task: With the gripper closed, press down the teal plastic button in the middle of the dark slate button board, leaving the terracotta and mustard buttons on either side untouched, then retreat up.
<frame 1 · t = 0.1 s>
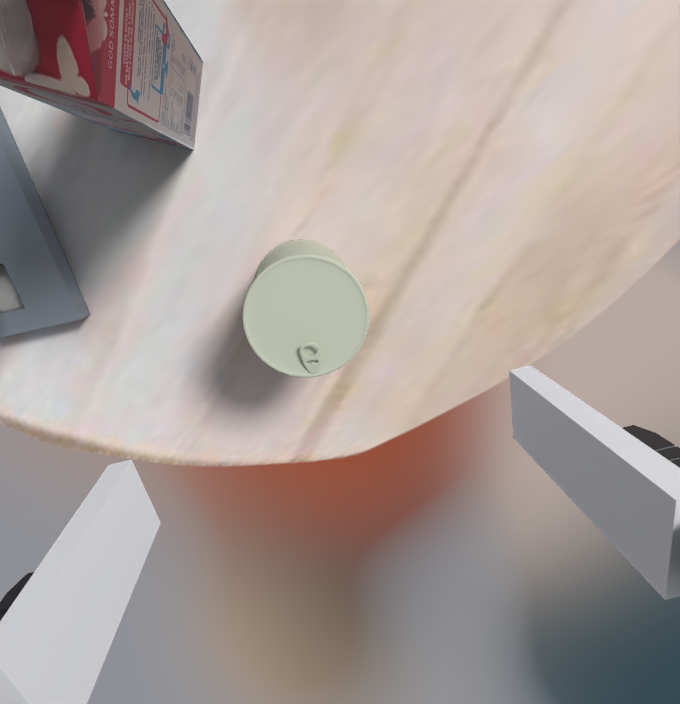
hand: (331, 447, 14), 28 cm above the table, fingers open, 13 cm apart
can: (302, 287, 41), on the table
juice carton: (156, 96, 34), on the table
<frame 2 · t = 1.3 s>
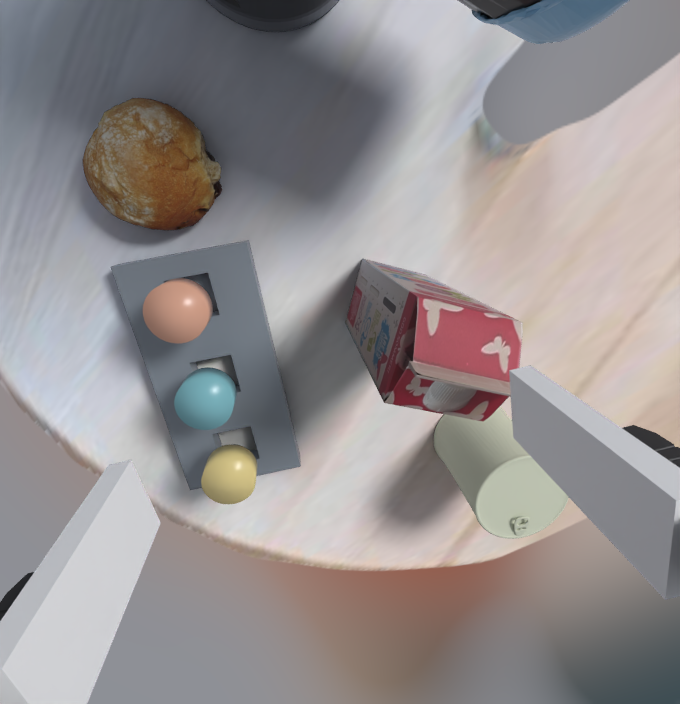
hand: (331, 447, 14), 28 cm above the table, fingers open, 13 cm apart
bread roll: (163, 171, 36), on the table
teal button: (208, 393, 37), point 6 cm above the table, slide at 0.0 cm
mustard button: (231, 467, 40), point 6 cm above the table, slide at 0.0 cm
terracotta button: (182, 307, 34), point 6 cm above the table, slide at 0.0 cm
can: (470, 433, 49), on the table
juice carton: (384, 298, 42), on the table
button board: (219, 370, 43), on the table
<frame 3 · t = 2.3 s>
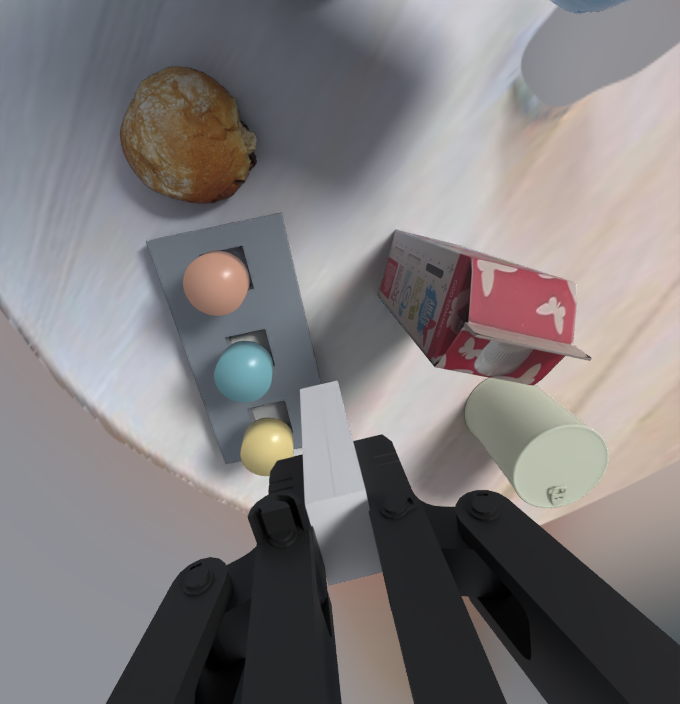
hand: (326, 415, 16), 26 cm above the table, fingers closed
bread roll: (197, 143, 36), on the table
teal button: (246, 366, 37), point 6 cm above the table, slide at 0.0 cm
mustard button: (268, 440, 40), point 6 cm above the table, slide at 0.0 cm
terracotta button: (219, 280, 34), point 6 cm above the table, slide at 0.0 cm
can: (501, 407, 49), on the table
juice carton: (417, 270, 42), on the table
button board: (252, 345, 43), on the table
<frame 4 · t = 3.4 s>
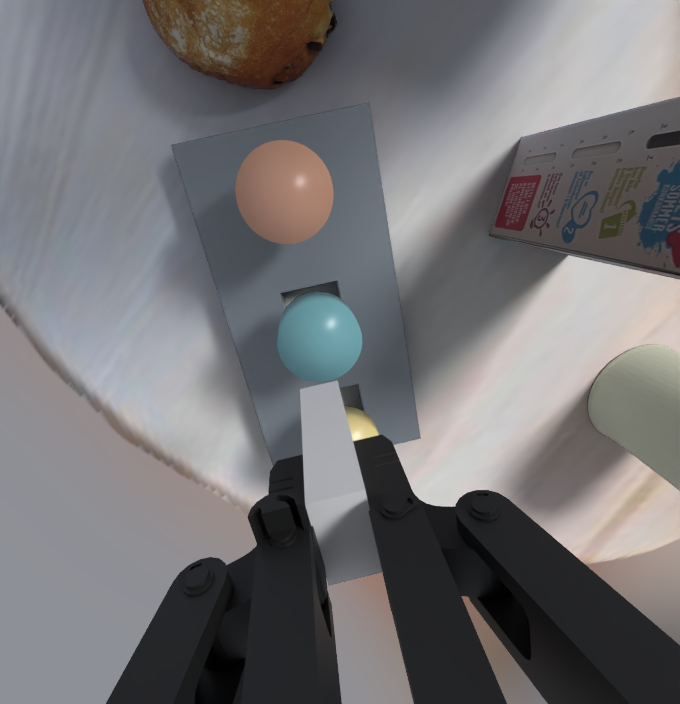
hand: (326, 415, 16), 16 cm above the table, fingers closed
teal button: (318, 330, 25), point 6 cm above the table, slide at 0.0 cm
mustard button: (343, 439, 28), point 6 cm above the table, slide at 0.0 cm
terracotta button: (286, 194, 23), point 6 cm above the table, slide at 0.0 cm
can: (635, 392, 37), on the table
juice carton: (544, 199, 30), on the table
button board: (314, 307, 31), on the table
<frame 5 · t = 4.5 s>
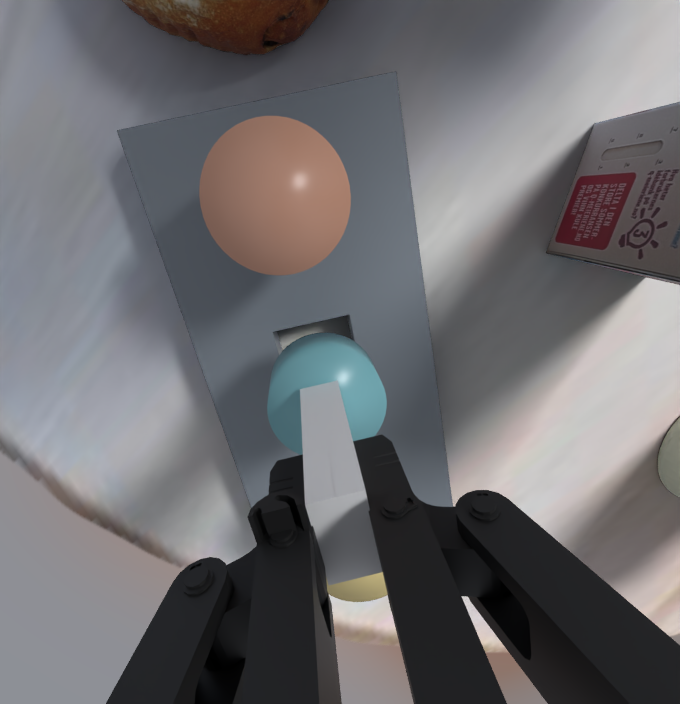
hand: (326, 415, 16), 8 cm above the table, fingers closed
teal button: (323, 384, 19), point 5 cm above the table, slide at 0.5 cm, touching gripper
mustard button: (358, 527, 21), point 6 cm above the table, slide at 0.0 cm
terracotta button: (278, 200, 15), point 6 cm above the table, slide at 0.0 cm
juice carton: (619, 205, 23), on the table
button board: (317, 346, 24), on the table
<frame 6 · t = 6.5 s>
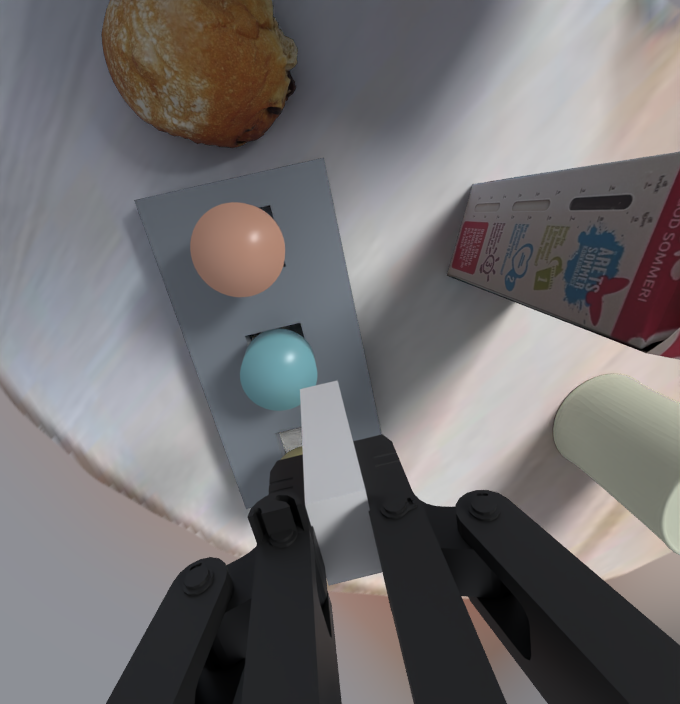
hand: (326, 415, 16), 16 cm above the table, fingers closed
bread roll: (212, 66, 26), on the table
teal button: (279, 363, 28), point 4 cm above the table, slide at 2.0 cm
mustard button: (309, 477, 29), point 6 cm above the table, slide at 0.0 cm
terracotta button: (242, 248, 24), point 6 cm above the table, slide at 0.0 cm
can: (598, 419, 38), on the table
juice carton: (498, 240, 31), on the table
button board: (280, 346, 32), on the table
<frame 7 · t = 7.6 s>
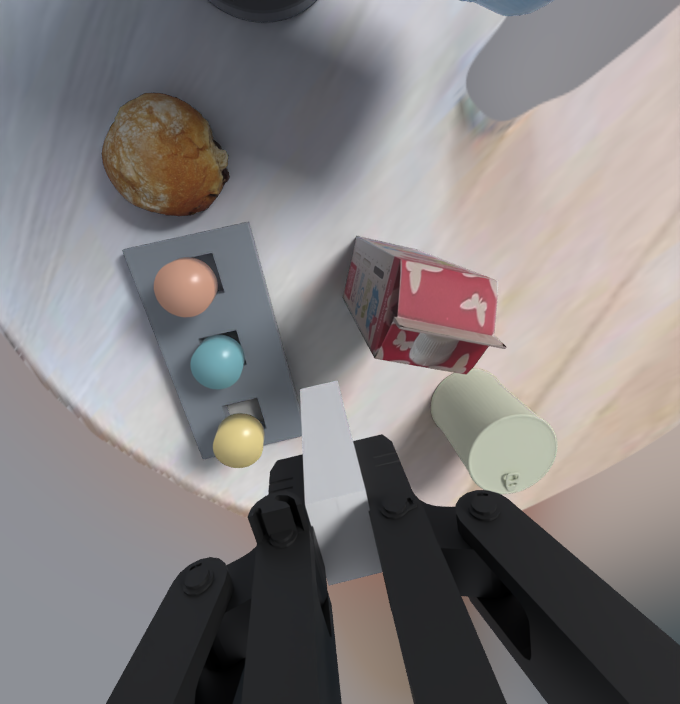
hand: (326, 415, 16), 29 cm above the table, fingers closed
bread roll: (174, 161, 39), on the table
teal button: (220, 358, 42), point 4 cm above the table, slide at 2.0 cm
mustard button: (240, 435, 43), point 6 cm above the table, slide at 0.0 cm
terracotta button: (189, 284, 37), point 6 cm above the table, slide at 0.0 cm
can: (466, 401, 51), on the table
juice carton: (379, 273, 45), on the table
button board: (225, 345, 45), on the table
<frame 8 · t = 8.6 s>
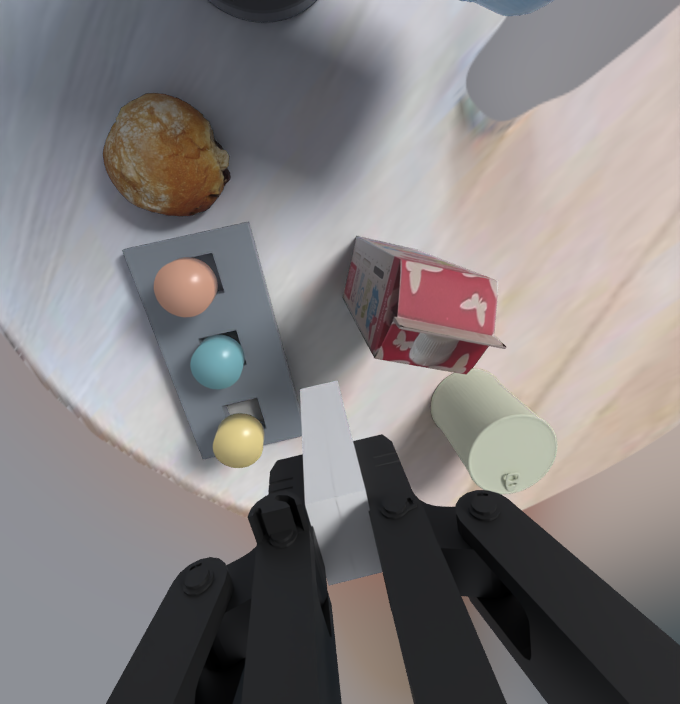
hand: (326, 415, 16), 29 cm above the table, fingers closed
bread roll: (176, 161, 39), on the table
teal button: (220, 358, 42), point 4 cm above the table, slide at 2.0 cm
mustard button: (240, 435, 43), point 6 cm above the table, slide at 0.0 cm
terracotta button: (189, 284, 37), point 6 cm above the table, slide at 0.0 cm
can: (466, 401, 51), on the table
juice carton: (379, 273, 45), on the table
button board: (225, 345, 45), on the table
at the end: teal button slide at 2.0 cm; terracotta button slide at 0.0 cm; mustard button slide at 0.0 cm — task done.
